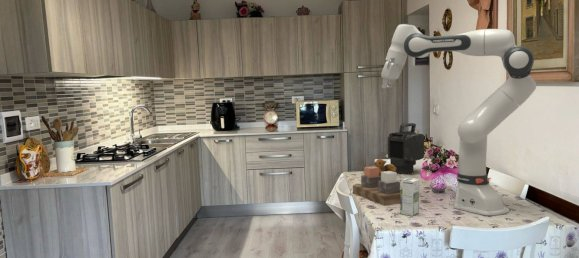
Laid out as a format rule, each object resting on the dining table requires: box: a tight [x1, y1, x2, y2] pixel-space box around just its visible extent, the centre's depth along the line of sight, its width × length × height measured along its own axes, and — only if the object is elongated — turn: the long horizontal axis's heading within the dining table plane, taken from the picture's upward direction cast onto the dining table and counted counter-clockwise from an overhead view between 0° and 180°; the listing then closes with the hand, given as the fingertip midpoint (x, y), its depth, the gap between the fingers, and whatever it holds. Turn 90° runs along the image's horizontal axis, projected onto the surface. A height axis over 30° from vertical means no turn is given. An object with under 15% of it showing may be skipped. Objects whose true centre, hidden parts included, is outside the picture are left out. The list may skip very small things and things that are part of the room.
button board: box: [352, 174, 401, 206], centre depth 209 cm, size 26×14×9 cm, turn 24°
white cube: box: [381, 171, 398, 183], centre depth 202 cm, size 5×5×5 cm
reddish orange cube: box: [363, 166, 379, 178], centre depth 215 cm, size 5×5×5 cm
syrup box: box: [399, 177, 420, 217], centre depth 181 cm, size 6×6×14 cm
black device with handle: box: [387, 122, 425, 175], centre depth 264 cm, size 15×18×30 cm
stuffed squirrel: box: [372, 158, 396, 176], centre depth 242 cm, size 10×14×13 cm
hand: (386, 88), depth 203 cm, fingers open, 8 cm apart
